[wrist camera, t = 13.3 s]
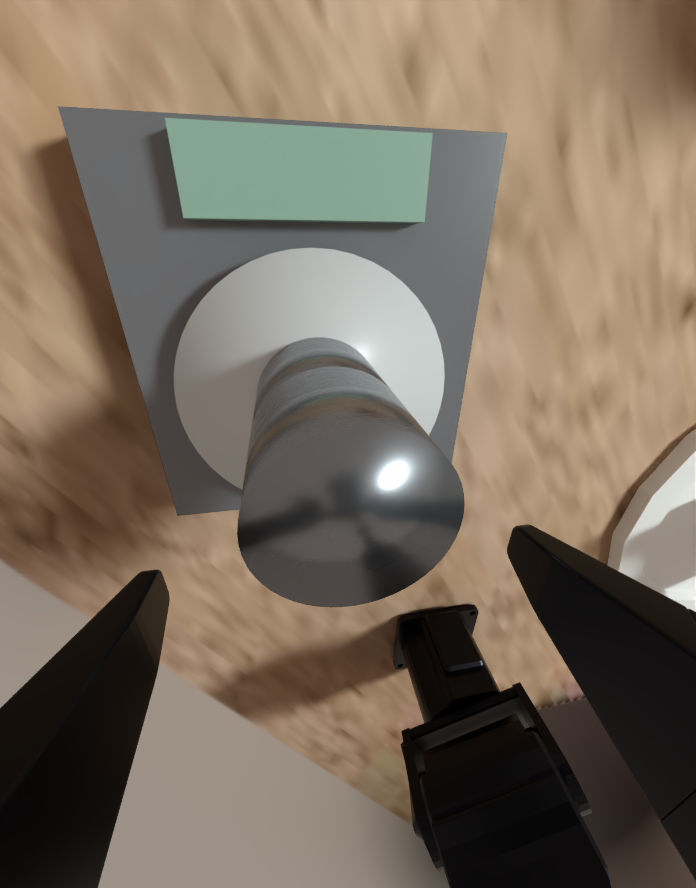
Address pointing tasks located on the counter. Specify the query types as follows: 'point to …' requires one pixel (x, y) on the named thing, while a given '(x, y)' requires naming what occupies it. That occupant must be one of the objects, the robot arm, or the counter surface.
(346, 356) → the cylinder
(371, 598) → the cylinder
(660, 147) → the counter surface
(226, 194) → the scale
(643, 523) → the dish
